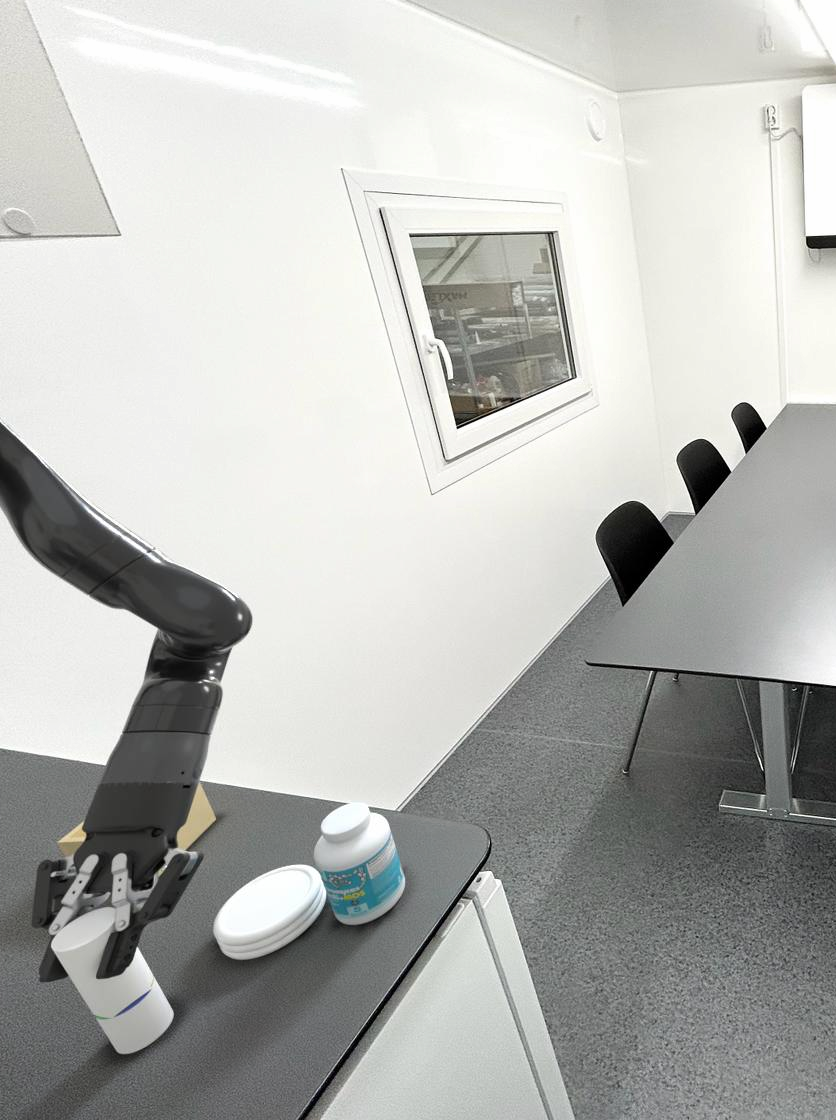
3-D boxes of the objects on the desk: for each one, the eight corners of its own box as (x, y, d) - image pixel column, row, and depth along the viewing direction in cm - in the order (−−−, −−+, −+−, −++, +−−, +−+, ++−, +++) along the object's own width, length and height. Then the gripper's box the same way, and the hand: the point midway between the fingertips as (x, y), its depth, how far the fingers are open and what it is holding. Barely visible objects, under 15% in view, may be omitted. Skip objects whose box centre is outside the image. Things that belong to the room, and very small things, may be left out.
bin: (79, 882, 79) (56, 842, 77) (146, 822, 88) (128, 785, 86) (157, 878, 80) (137, 838, 77) (216, 819, 89) (200, 782, 86)
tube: (130, 1016, 65) (70, 915, 59) (182, 1000, 66) (128, 901, 61) (104, 1061, 61) (38, 958, 56) (160, 1043, 63) (100, 942, 57)
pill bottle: (320, 920, 75) (287, 836, 70) (373, 868, 81) (347, 788, 77) (371, 935, 73) (341, 850, 68) (421, 880, 80) (397, 799, 75)
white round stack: (251, 977, 69) (241, 956, 67) (203, 939, 72) (193, 918, 71) (345, 901, 77) (338, 880, 76) (298, 871, 81) (290, 851, 80)
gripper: (39, 782, 61) (-50, 995, 54) (193, 776, 62) (125, 984, 55) (113, 784, 68) (42, 973, 61) (250, 778, 69) (196, 963, 62)
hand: (82, 977), depth 58 cm, fingers closed on tube, 4 cm apart
